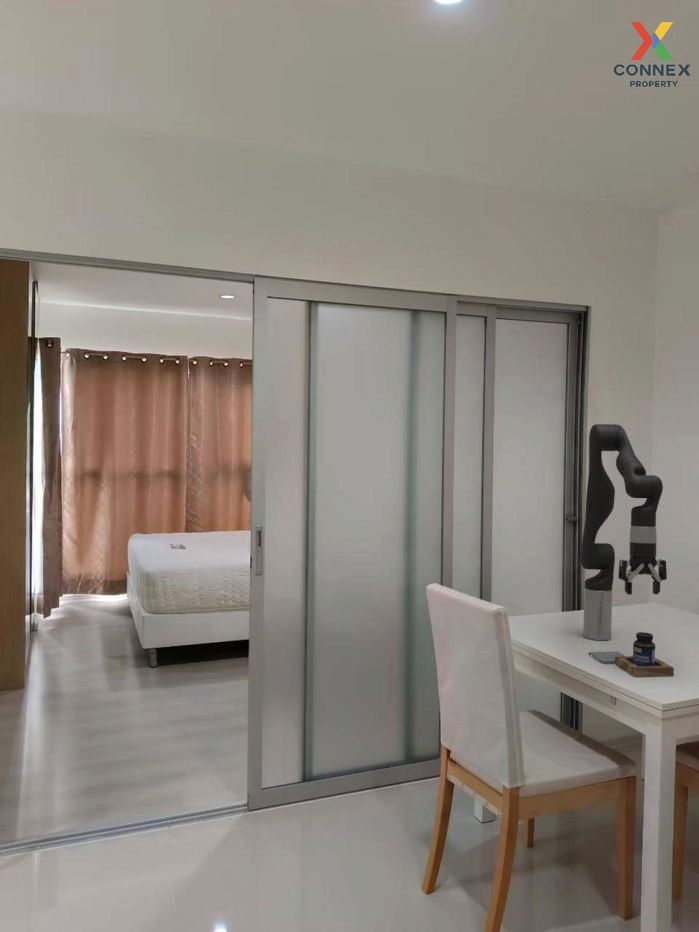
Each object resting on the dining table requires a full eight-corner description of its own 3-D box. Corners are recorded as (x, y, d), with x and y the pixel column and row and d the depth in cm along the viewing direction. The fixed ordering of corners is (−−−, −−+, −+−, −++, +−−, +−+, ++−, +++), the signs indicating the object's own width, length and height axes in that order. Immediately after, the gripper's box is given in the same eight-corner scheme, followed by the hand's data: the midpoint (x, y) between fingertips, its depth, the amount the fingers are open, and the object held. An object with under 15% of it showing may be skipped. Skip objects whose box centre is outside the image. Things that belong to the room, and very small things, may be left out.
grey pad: (588, 654, 232) (588, 652, 232) (617, 653, 233) (617, 651, 233) (602, 663, 222) (602, 661, 222) (633, 663, 223) (633, 660, 223)
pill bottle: (630, 671, 215) (631, 634, 215) (635, 666, 220) (635, 630, 220) (652, 674, 212) (653, 637, 212) (656, 669, 217) (657, 633, 217)
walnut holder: (615, 664, 221) (615, 656, 221) (651, 663, 223) (652, 655, 223) (634, 677, 209) (635, 668, 209) (673, 676, 211) (673, 667, 211)
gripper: (658, 539, 223) (657, 591, 223) (614, 539, 221) (614, 592, 221) (672, 542, 215) (671, 596, 215) (627, 542, 214) (626, 596, 214)
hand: (642, 594), depth 218 cm, fingers open, 8 cm apart
